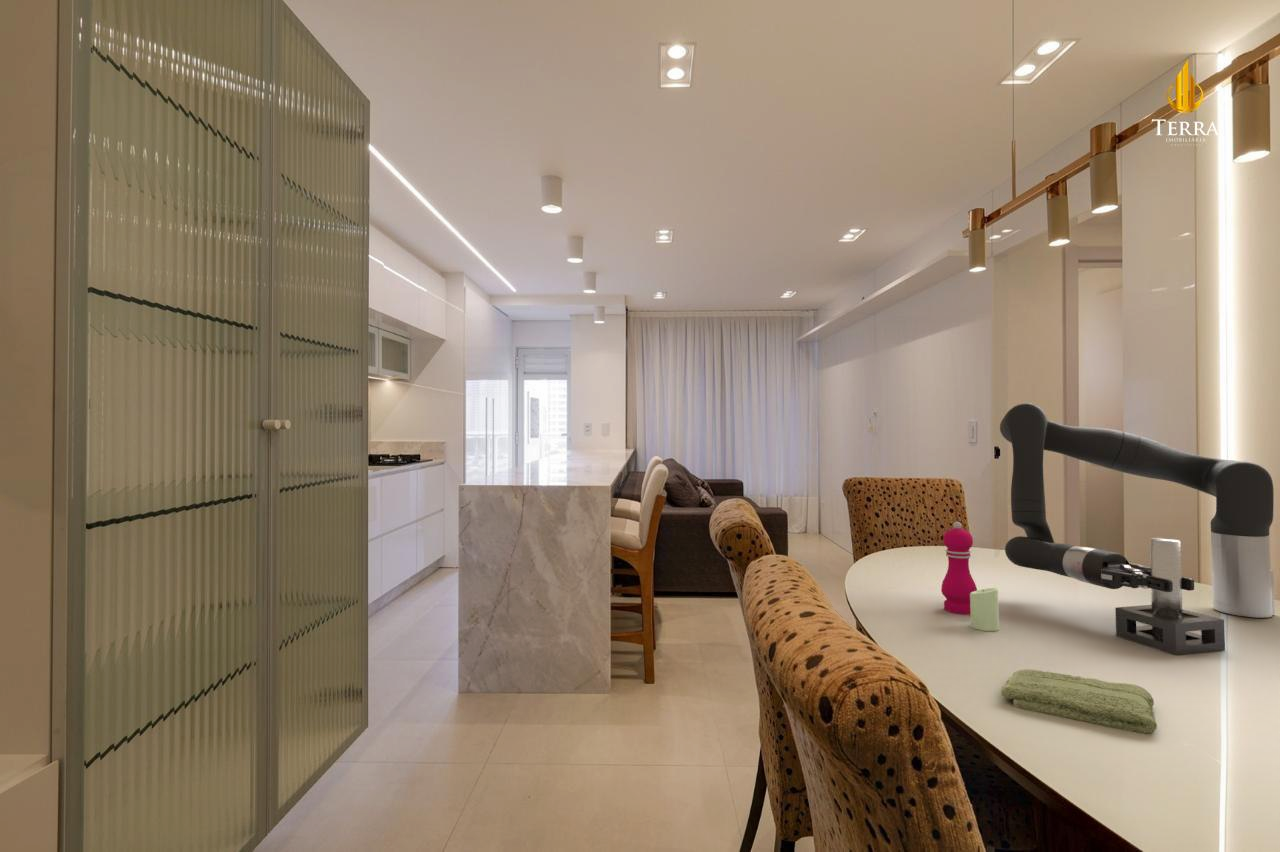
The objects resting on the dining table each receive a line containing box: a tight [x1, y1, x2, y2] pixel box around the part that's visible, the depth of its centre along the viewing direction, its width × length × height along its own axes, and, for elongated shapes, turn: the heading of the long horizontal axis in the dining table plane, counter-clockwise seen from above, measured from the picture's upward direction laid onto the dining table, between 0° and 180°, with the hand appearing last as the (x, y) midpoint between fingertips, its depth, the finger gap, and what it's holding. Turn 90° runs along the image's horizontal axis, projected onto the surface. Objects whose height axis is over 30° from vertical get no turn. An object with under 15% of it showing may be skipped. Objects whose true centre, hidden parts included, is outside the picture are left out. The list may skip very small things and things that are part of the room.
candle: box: [970, 587, 1000, 632], centre depth 125 cm, size 5×5×8 cm
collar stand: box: [1114, 604, 1226, 656], centre depth 114 cm, size 11×11×6 cm
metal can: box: [1149, 537, 1183, 639], centre depth 114 cm, size 5×5×18 cm
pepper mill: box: [940, 521, 978, 615], centre depth 137 cm, size 7×7×20 cm
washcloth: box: [1001, 669, 1158, 734], centre depth 88 cm, size 13×18×3 cm
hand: (1181, 585), depth 112 cm, fingers closed on metal can, 4 cm apart
